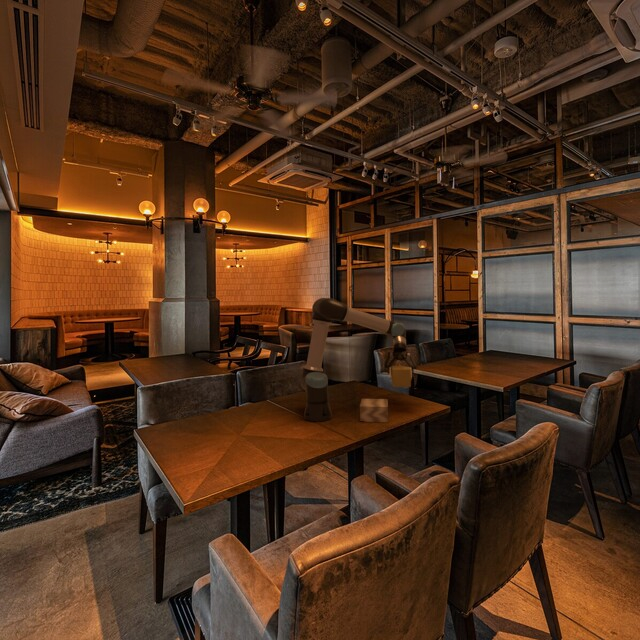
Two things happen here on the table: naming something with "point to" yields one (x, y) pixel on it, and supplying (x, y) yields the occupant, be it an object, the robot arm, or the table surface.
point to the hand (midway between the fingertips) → (400, 378)
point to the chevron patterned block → (374, 410)
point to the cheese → (401, 376)
